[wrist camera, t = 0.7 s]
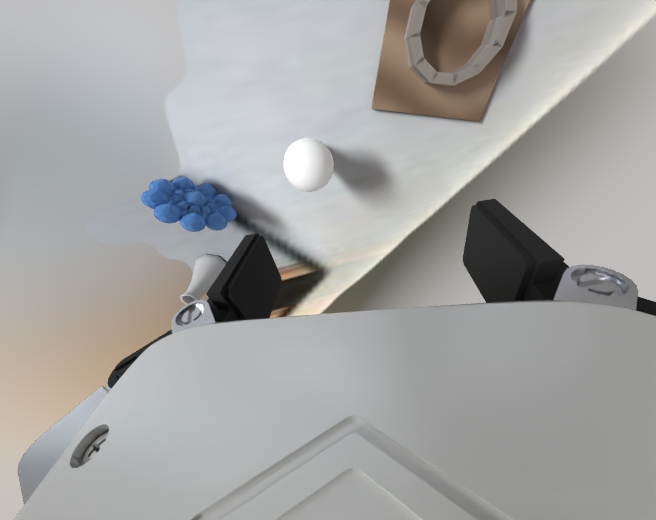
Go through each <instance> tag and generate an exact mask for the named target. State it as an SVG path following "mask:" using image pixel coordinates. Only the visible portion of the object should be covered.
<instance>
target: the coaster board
mask: <svg viewBox="0 0 656 520" xmlns="http://www.w3.org/2000/svg"><path fill="white" fill-rule="evenodd" d="M529 2H530V0H390V4H389V10H388V16H387V21H386V27H385V33H384V39H383V45H382V51H381V56H380V62H379V68H378V74H377V80H376V85H375V91H374V97H373V103H372V109H378V110H387V111H395V112H404V113H413V114H422V115H430V116H439V117H448V118H456V119H465V120H474V121H480V118H481V116H482V113H483V111H484V109H485V106H486V104H487V102H488V99H489V97H490V94H491V92H492V90H493V87H494V85H495V83H496V80H497V78H498V75H499V73H500V71H501V68H502V66H503V64H504V61H505V59H506V56H507V54H508V52H509V49H510V47H511V45H512V42H513V40H514V37H515V35H516V33H517V30H518V28H519V26H520V23H521V21H522V18H523V16H524V14H525V11H526V9H527V7H528V4H529Z"/></svg>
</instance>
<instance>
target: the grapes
mask: <svg viewBox="0 0 656 520" xmlns="http://www.w3.org/2000/svg"><path fill="white" fill-rule="evenodd" d="M149 187H150V190H148V191H146V192H143V194H142V195H141V201H142V202H143V203H144V204H145V205H146V206H148V207H150V208H152V209H154V211H153V212H154V216H155V217H156V218H157V219H158V220H159V221H161V222H164V223H175V222H177V221H179V220H180V224H181V226H182V227H183V228H184V229H186V230H188V231H192V232H196V231H200V230H202V229H204V228H205V226H207V227H208V228H210V229H211V230H222V229H224V228H225V227H226V226H227V222H229V221H232V220H234V219H235V218H236V216H237V215H236V211H235V210H234V209H233V208H232V207H231V206H232V201H231V199H230V198H229V197H228V196H227V195H225V194H219V195H217V192H216V190H215V188H214V187H213V186H212V185H210V184H200V185H198V186H197V187H196V188H195V185H194V184H193V182H192V181H191V180H189V179H188V178H186V177H181V178H177V179H174V180H173V182H172V183H171V182H170V181H168V180H166V179H158V180H155V181H152V182H151V183H150V185H149Z"/></svg>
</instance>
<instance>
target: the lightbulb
mask: <svg viewBox="0 0 656 520" xmlns="http://www.w3.org/2000/svg"><path fill="white" fill-rule="evenodd" d="M333 169H334V161H333V157H332V154H331V152H330V150H329V149H328V148H327V147H326V145H325V144H323V143H322V142H321V141H319V140H317V139H313V138H302V139H299V140H297V141H295V142H294V143H293V144H291V145H290V147H289V148H288V149H287V151H286V153H285V157H284V171H285V174H286V176H287V178H288V180H289V181H290V183H291V184H292V185H293V186H294V187H296V188H297V189H299V190H302V191H306V192H312V191H317V190H319V189H321V188H323V187H324V186H325V185H326V184H327V183H328V182H329V180H330V179H331V177H332V174H333Z"/></svg>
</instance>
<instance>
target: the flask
mask: <svg viewBox="0 0 656 520" xmlns="http://www.w3.org/2000/svg"><path fill="white" fill-rule="evenodd" d="M225 265H226V263H225V262H224V261H223V260H222V259H221V258H220V257H219V256H215V255H208V254H204V255H203V256H201V257H199V258H197V259H196V262H195V267H194V272H193V276H192V281H191V284H190V286H189V288H188V290H187V291H186V292H185V294H183V295H181V296H180V298H181V300H182V302H183V303H185V304H186V305H187V304H189V303H191V302H193V301H197V300H200V298H201V297H202V296H203V295H204V294H205V293H206V291H208V290H209V289H210V287H211V286H212V284H213V283H214V281H215V280H216V279H217V277H218V276H219V274H220V273H221V271H222V270H223V268H224V267H225Z"/></svg>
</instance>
